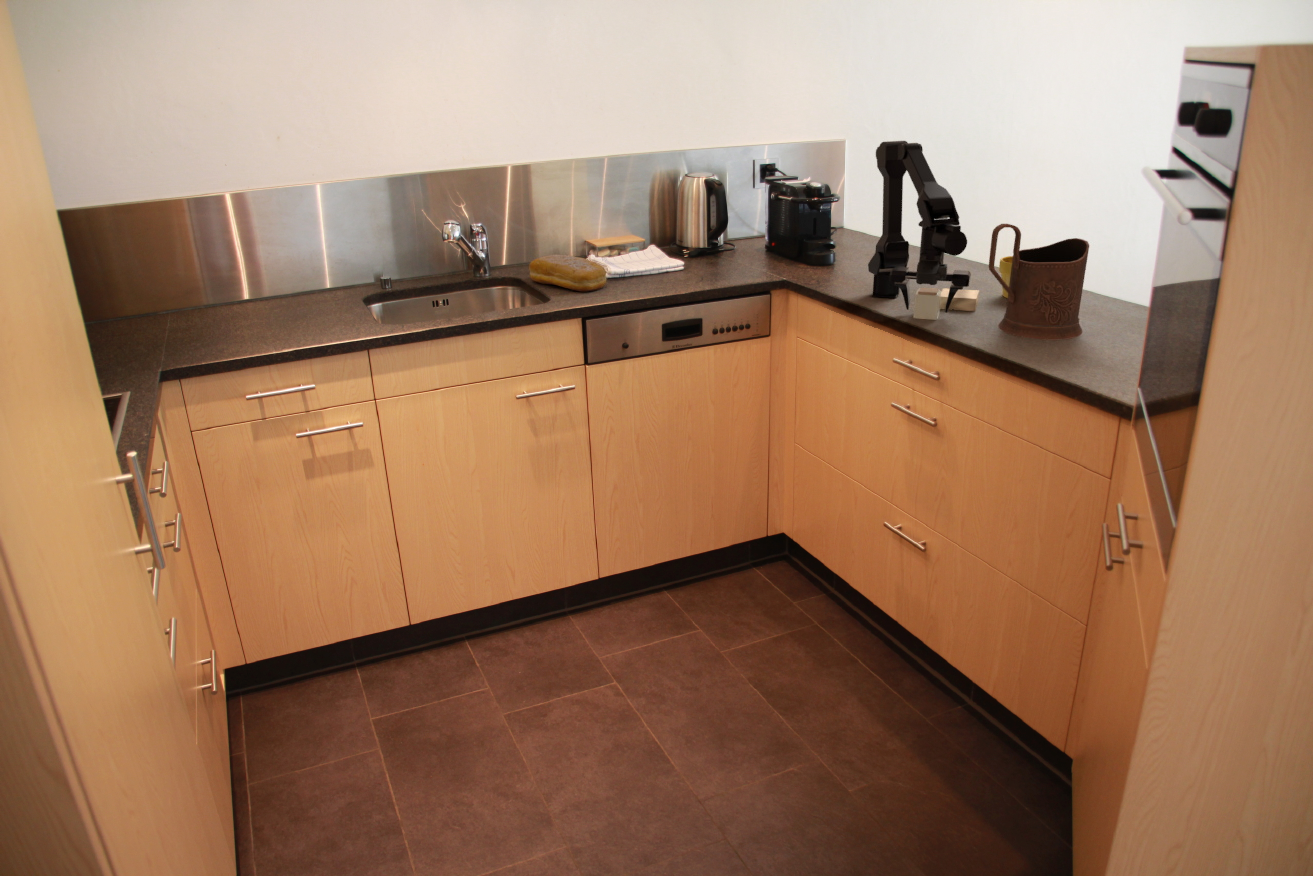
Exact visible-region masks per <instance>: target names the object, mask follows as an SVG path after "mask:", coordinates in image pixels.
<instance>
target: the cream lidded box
mask: <svg viewBox="0 0 1313 876" xmlns="http://www.w3.org/2000/svg"><path fill="white" fill-rule="evenodd" d="M941 292H942V290H940V289H939V288H935V287H934V288H933V287H920V288H917V291H916V293H915V296H914V307H913V317H912V318H913V319H923V320H933V321H935V320H936V321H937V320H938V318H939V316H940V312H941V311H940V310H941V309H940V302H941Z"/></svg>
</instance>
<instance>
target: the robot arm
mask: <svg viewBox="0 0 1313 876" xmlns="http://www.w3.org/2000/svg"><path fill="white" fill-rule="evenodd" d="M923 151H924V150H923V146H922V143H918V142H908V141H906V140H893V141H892V140H891V141H888V140H887V141H882V142H881V143H880V144H879V145H878V146H877V148H876V149H875V158H876V164H877V165H876V167H877V169H878V171H879V172H880V174H881V175H882V179H883V180H882V183H883V185H882V188H883V189H882V231H881V232H882V234H881V236H880V238H879V240H878V241H877V243H876V244H875V251H874V254H873V256H872V258H871V259H870V260H869V262H868V263H867V267H868V273H870V274H873V284H872V292H871V295H870V296H871V297H874V298H885V299H887V298H888V299H889V298H890V299H896V298H897V296H898V295H899V294H900V293H902V297H903V300H904V304H905V308H906V310H910V302H911V299H910V297H911V296H910V295H911V294H910V288H911V286H910V284H911V283H910V280H916V281H915V282H916V283H915V284H918V285H930V286H935V285H937V284H938V282H951V284H950V286H949V289H950V290H949V295H948V299H947V303H946V308H945V309H944V310H945V311H944V312H945V313H948V310H950V309H949V306H950V304H951V301H952V299H953V297H954V296H955V294H956V292H957V291H958V290H962V289H963V290H964V288H967V287H969V286H970V284H971V281H972V280H971V279H972V278H971V277H972V273H971V271H970V270H959V269H955V270H953V273H948V264H946V263H944V262H945V261H944V260H945V254H947V255H950V256H953V257H955V256H959V255H961V254H962V253H964V251H965V250H966V248H967V245H968V239H967V238H968V237H967V235H966V234H965V233H964V232H963V231H961V230H962V229H961V228H962V226H961V225H960V224H961V223H960V216H959V213H958V210H957V207H956V204H955V201H954V199H953V197H952V195H951V193H950V192H949V191H948V190H947V189H946V188H945V187H943V186H942V185H940V184H939V183H938V181H937V180H936V178H935V175H934V174H933V171H932V169H931V167H930V165H929V164H928V161H927V159H926V157H925V155H924V153H923ZM906 173H908V176H909V177H910V180H911V183H912V184H913V187H914V188H915V191H916V193H917V200H916V207H917V211H918V214H919V216H920V218H921V221H920V222H918V223H917V224H918V226H919V227H921V236H920V246H919V259H918V262H917V265H916V271H913V270H912V271H910V267H909V266H908V263H909V260H910V253H909V249H910V243H909V241H907V240H906V239H905V238H904V236H903V234H902V232H903V231H902V229H903V228H902V227H903V226H902V224H903V194H904V190H903V189H904V188H903V187H904V186H903V185H904V176H905V174H906Z"/></svg>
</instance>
